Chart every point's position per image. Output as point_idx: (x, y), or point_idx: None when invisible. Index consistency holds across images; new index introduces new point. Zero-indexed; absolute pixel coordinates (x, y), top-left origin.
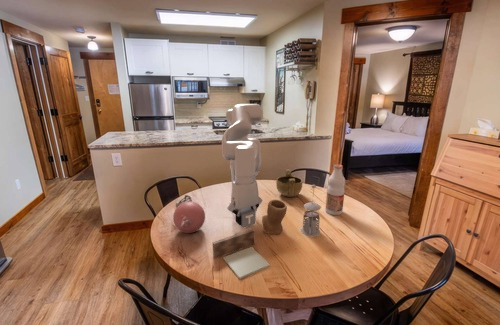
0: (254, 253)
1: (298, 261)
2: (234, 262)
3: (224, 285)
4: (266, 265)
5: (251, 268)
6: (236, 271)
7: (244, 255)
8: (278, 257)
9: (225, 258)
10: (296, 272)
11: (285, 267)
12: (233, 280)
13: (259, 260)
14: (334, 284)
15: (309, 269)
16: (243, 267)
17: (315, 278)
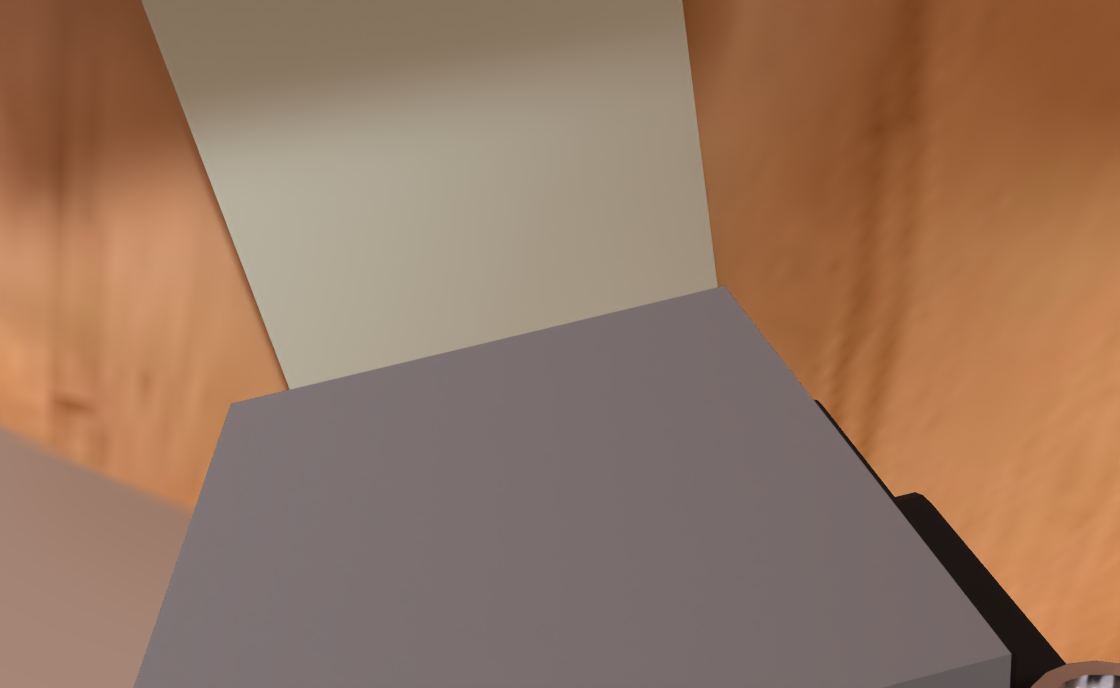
0: (636, 36)
1: (1047, 324)
2: (289, 141)
3: (114, 446)
4: None
5: (484, 319)
6: (284, 317)
7: (475, 32)
8: (896, 190)
9: (158, 2)
10: (913, 461)
11: (862, 371)
12: (230, 404)
13: (638, 210)
14: (1082, 641)
15: (1050, 456)
16: (391, 274)
17: (1007, 561)
